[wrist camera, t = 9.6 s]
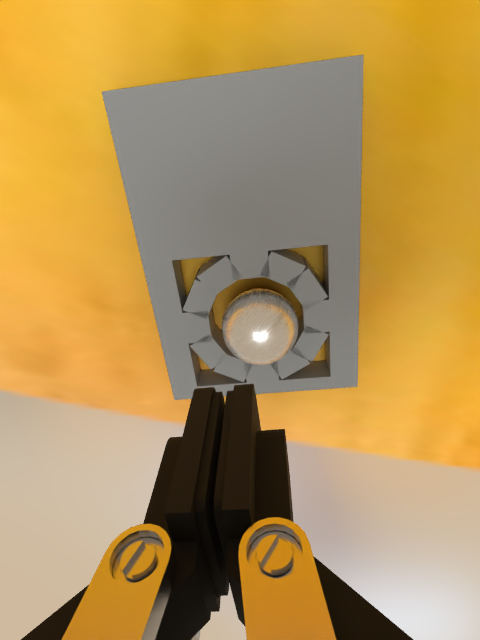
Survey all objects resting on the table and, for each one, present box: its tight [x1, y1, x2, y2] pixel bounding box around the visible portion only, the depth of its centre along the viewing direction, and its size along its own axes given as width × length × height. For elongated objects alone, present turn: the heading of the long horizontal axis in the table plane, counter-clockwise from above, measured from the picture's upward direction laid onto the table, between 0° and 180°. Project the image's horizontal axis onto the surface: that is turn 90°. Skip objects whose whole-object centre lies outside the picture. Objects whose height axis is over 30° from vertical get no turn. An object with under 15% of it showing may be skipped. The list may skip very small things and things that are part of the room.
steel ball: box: [222, 288, 298, 365], centre depth 31 cm, size 6×6×6 cm
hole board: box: [102, 55, 363, 400], centre depth 30 cm, size 16×24×2 cm, turn 7°
